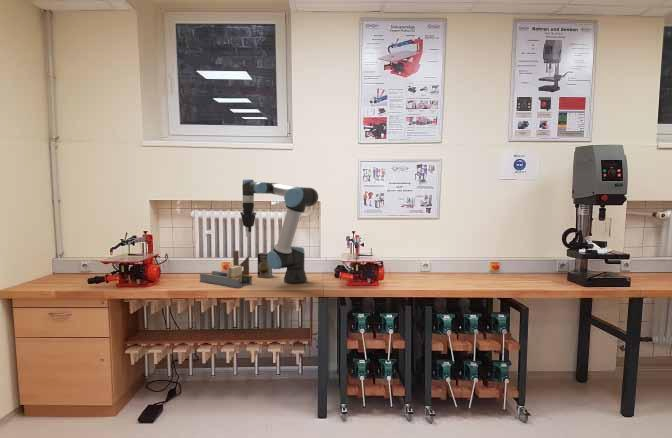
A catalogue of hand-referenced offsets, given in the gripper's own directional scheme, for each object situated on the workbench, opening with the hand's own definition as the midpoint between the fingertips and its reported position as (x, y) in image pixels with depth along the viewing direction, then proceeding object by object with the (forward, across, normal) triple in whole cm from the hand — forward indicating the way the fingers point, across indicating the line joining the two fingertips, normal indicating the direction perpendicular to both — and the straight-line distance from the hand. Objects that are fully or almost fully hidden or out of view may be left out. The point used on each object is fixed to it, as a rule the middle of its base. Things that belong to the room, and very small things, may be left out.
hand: (248, 236), depth 251 cm
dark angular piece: (+29, +8, -1) cm, 30 cm away
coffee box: (+29, -6, -10) cm, 31 cm away
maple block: (+27, -6, +19) cm, 34 cm away
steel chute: (+28, +2, +19) cm, 34 cm away
